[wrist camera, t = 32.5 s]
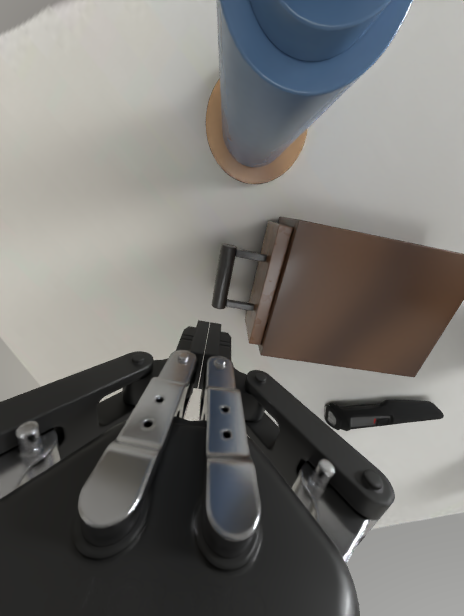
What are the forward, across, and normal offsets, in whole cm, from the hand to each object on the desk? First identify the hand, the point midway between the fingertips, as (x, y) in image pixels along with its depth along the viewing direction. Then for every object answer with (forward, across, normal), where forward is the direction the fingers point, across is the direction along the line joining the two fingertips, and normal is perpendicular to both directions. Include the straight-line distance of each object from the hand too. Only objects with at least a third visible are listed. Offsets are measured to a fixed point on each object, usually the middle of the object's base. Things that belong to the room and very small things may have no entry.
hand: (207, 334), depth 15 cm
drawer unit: (+13, -13, -2) cm, 18 cm away
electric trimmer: (+13, -26, +15) cm, 33 cm away
